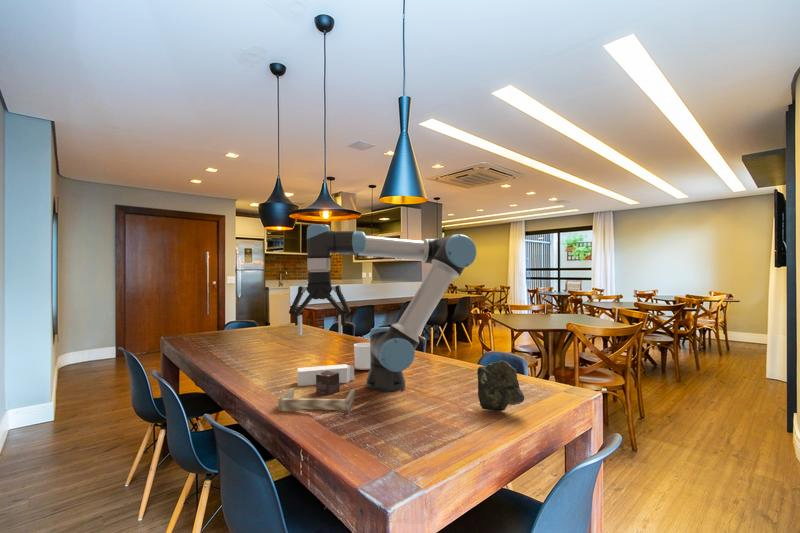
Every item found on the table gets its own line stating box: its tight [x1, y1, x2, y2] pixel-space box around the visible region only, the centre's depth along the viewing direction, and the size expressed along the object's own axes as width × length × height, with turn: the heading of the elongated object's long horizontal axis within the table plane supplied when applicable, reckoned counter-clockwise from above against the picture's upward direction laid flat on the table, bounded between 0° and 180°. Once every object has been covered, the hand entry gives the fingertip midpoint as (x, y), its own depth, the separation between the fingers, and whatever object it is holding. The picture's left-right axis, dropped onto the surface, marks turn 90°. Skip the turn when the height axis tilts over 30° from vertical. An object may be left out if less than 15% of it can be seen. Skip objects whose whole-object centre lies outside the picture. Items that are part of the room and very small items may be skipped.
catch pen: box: [277, 387, 356, 414], centre depth 126 cm, size 22×11×4 cm, turn 86°
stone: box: [477, 359, 525, 412], centre depth 122 cm, size 15×10×15 cm
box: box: [315, 371, 340, 396], centre depth 139 cm, size 6×6×7 cm
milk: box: [297, 363, 355, 387], centre depth 152 cm, size 6×6×22 cm
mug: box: [353, 342, 370, 371], centre depth 174 cm, size 11×9×10 cm
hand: (320, 335), depth 128 cm, fingers open, 13 cm apart
